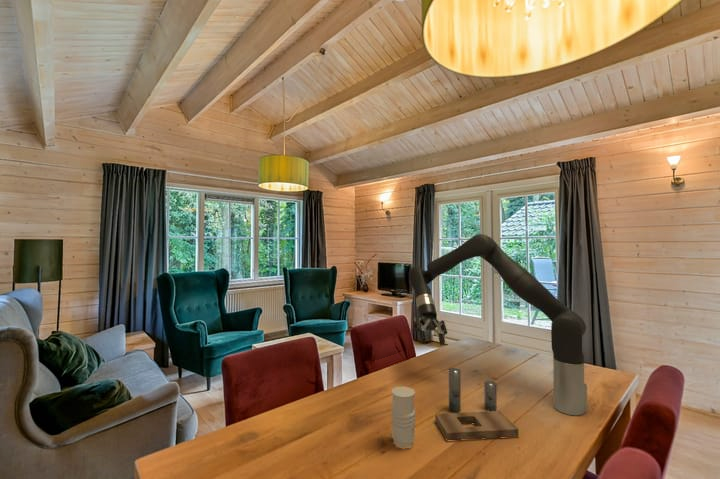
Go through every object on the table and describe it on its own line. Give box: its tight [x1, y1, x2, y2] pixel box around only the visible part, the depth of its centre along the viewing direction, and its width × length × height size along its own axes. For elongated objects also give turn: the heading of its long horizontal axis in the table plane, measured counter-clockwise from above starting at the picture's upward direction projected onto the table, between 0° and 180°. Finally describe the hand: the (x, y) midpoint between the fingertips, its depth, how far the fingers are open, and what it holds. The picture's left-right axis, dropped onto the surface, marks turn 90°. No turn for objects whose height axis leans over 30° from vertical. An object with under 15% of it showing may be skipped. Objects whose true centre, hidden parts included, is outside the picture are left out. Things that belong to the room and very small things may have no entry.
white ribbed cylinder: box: [390, 386, 416, 448], centre depth 99 cm, size 7×7×15 cm
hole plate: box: [434, 410, 519, 441], centre depth 106 cm, size 22×11×2 cm, turn 95°
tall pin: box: [448, 367, 462, 413], centre depth 118 cm, size 4×4×14 cm
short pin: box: [483, 380, 498, 411], centre depth 119 cm, size 4×4×9 cm
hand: (433, 343), depth 134 cm, fingers open, 8 cm apart
